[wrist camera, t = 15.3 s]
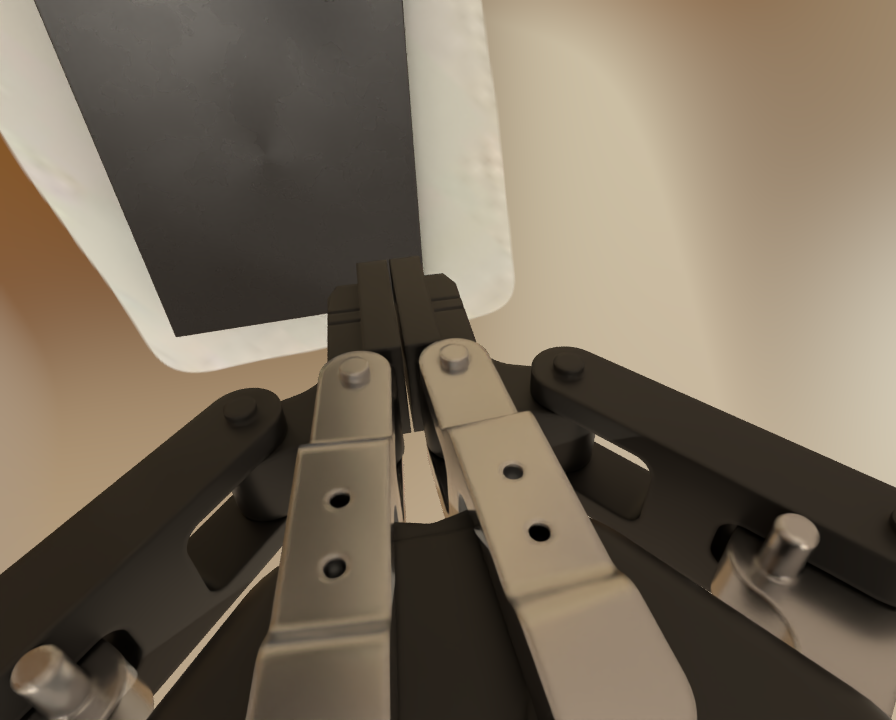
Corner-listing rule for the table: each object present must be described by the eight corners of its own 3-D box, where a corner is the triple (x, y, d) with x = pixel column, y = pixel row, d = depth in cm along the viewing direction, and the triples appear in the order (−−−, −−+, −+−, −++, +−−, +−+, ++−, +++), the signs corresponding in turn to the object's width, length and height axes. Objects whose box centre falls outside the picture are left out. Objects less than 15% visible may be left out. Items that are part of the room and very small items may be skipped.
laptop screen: (177, 331, 45) (175, 337, 44) (4, -85, 29) (-3, -85, 28) (423, 292, 48) (425, 298, 47) (392, -102, 32) (394, -103, 31)
